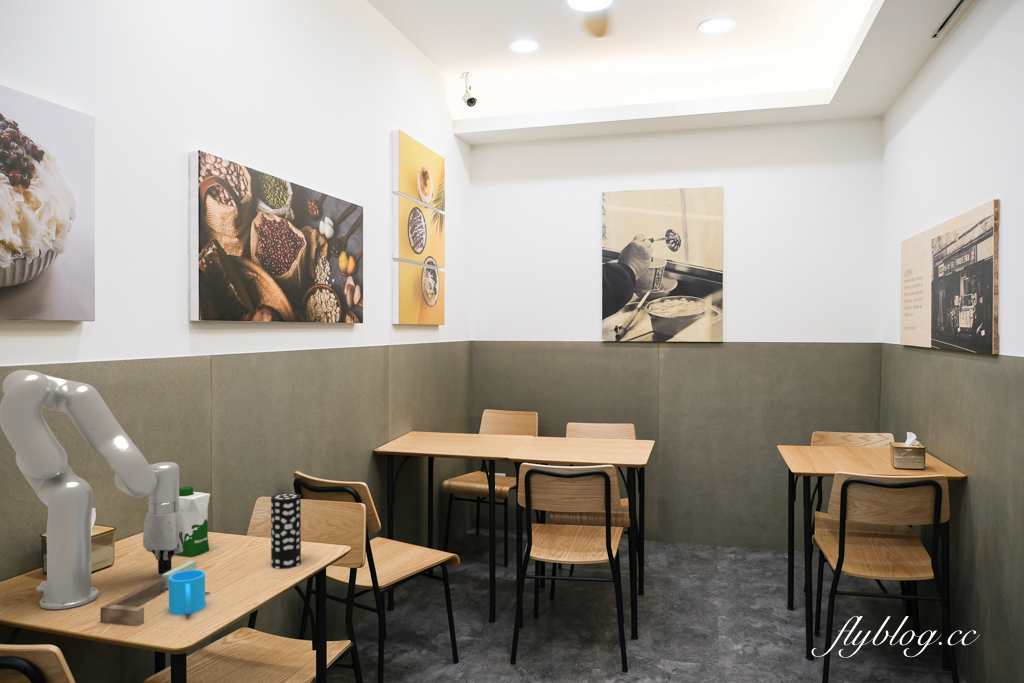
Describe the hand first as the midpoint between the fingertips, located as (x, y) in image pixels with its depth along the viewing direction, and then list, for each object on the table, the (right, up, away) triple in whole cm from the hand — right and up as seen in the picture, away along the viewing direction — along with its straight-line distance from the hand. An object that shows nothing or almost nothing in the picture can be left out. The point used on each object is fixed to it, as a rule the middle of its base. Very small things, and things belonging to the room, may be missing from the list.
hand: (164, 572), depth 191 cm
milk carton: (-3, -1, +22) cm, 22 cm away
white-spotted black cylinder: (+30, -2, +12) cm, 32 cm away
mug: (+17, -2, -23) cm, 28 cm away
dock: (+9, -2, -20) cm, 22 cm away
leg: (+6, -1, -3) cm, 7 cm away
